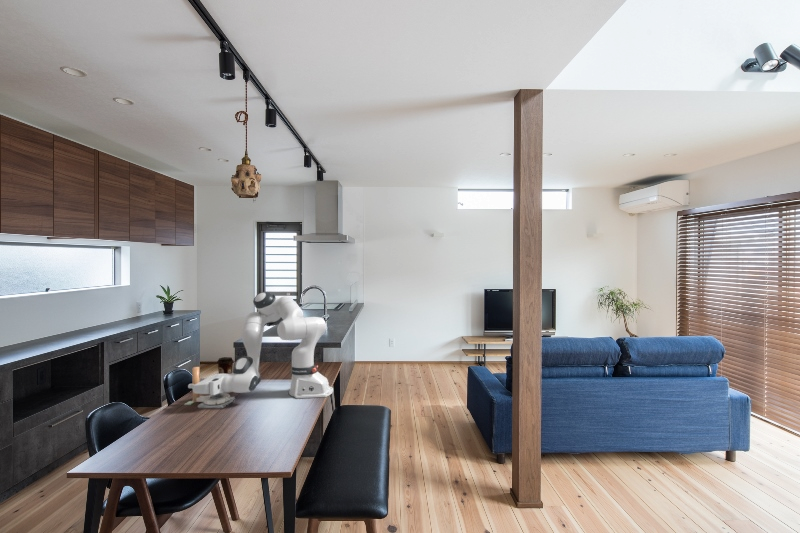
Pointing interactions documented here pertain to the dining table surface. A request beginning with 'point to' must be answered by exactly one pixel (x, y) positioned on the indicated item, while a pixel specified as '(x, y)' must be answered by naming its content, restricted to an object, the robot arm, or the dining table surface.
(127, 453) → the dining table surface
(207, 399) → the peg stand
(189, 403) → the lock mark
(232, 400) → the plinth
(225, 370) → the coffee cup
